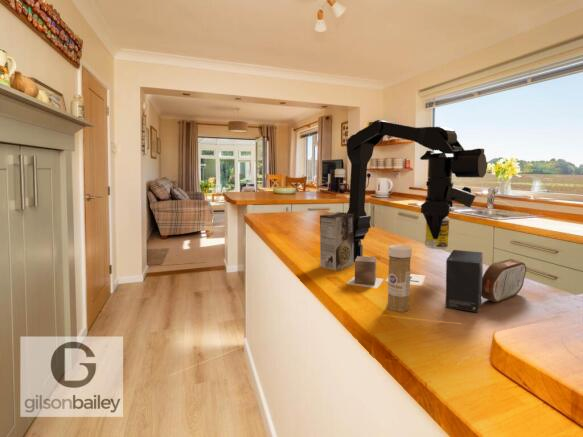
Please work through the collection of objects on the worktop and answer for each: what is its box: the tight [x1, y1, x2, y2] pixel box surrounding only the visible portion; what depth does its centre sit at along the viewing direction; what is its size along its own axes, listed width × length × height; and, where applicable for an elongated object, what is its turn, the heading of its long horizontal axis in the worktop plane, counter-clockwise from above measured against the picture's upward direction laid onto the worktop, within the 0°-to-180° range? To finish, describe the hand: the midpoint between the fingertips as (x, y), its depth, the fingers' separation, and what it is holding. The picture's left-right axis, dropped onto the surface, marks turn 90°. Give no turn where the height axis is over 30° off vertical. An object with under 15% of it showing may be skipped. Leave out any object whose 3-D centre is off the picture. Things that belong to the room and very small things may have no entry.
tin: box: [481, 258, 527, 303], centre depth 76 cm, size 15×3×8 cm, turn 123°
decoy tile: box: [345, 275, 385, 289], centre depth 89 cm, size 8×8×1 cm
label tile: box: [384, 273, 426, 287], centre depth 91 cm, size 9×9×1 cm
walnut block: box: [354, 256, 377, 285], centre depth 89 cm, size 5×5×6 cm
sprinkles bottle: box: [386, 243, 412, 313], centre depth 71 cm, size 5×5×14 cm
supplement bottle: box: [424, 216, 450, 250], centre depth 90 cm, size 6×6×10 cm
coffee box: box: [319, 211, 355, 272], centre depth 103 cm, size 9×6×16 cm
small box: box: [444, 249, 484, 313], centre depth 74 cm, size 11×6×10 cm, turn 148°
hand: (436, 236), depth 90 cm, fingers closed on supplement bottle, 6 cm apart
